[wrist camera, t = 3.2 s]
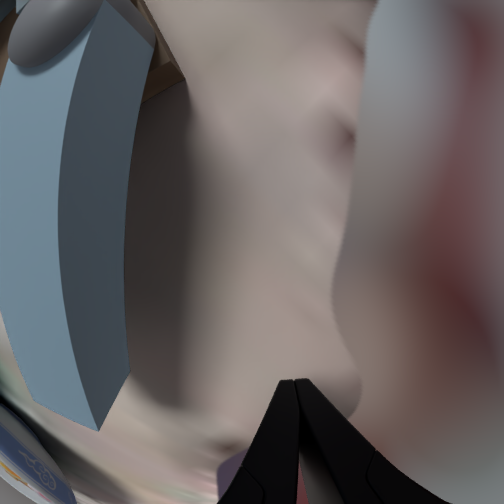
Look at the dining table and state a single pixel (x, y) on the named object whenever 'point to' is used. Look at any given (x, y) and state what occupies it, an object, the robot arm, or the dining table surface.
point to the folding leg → (69, 196)
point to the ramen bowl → (30, 463)
